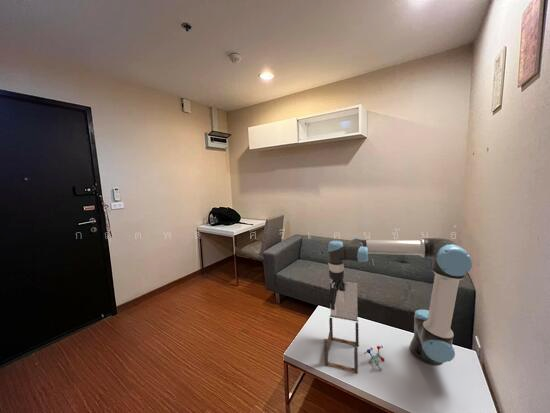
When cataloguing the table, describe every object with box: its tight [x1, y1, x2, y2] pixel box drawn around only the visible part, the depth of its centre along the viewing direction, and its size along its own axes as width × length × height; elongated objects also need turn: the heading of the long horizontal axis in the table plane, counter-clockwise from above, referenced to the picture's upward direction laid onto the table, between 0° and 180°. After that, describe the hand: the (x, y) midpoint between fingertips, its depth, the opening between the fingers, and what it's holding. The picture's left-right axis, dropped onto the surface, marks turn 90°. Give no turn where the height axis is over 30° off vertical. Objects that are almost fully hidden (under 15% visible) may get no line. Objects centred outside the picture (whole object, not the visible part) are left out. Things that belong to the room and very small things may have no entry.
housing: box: [323, 317, 360, 375], centre depth 120 cm, size 16×20×14 cm
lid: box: [329, 279, 359, 323], centre depth 130 cm, size 16×22×1 cm
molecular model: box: [363, 345, 385, 371], centre depth 114 cm, size 12×10×10 cm
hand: (337, 308), depth 120 cm, fingers open, 13 cm apart
